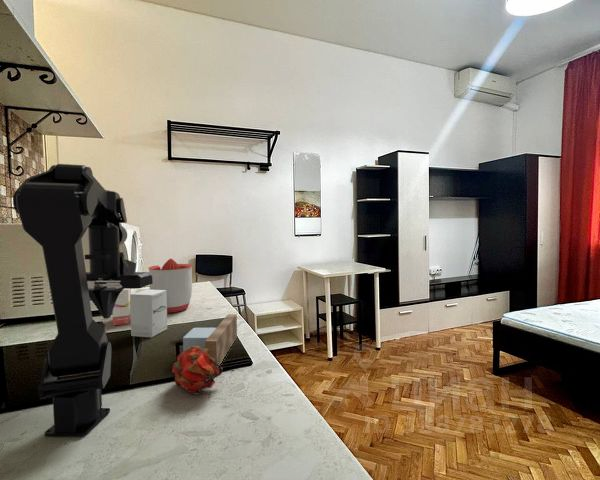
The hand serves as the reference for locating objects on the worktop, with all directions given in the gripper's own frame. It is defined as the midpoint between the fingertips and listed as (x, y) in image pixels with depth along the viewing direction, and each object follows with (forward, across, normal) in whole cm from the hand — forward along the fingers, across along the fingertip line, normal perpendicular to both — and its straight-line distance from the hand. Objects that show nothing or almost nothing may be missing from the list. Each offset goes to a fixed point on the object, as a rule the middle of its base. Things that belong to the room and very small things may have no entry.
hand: (107, 318), depth 68 cm
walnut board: (+12, -23, -10) cm, 28 cm away
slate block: (+12, -19, -8) cm, 24 cm away
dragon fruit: (+12, -23, +6) cm, 27 cm away
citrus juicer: (+12, +9, -49) cm, 52 cm away
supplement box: (+12, +4, -24) cm, 27 cm away
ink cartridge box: (+12, +19, -34) cm, 41 cm away
